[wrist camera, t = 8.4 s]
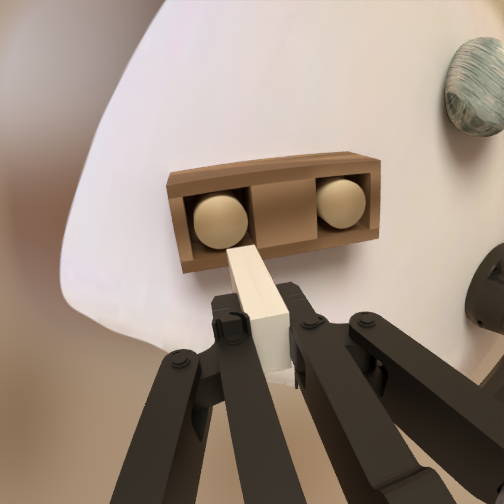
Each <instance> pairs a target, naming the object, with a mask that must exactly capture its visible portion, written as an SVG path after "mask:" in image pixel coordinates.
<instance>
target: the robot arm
mask: <svg viewBox="0 0 504 504" xmlns="http://www.w3.org/2000/svg"><path fill="white" fill-rule="evenodd" d="M226 251H227V257H228V264H229V271H230V278H231V284H232V291H233V293H231V294H226V295H220V296H215V297H214V299H213V301H212V302H211V306H212V313H213V320H212V327H213V332H214V337H215V342H214V344H213V345H212V346H211V347H210V348H209V349H208V350H206V351H204V352H202V353H199V354H196V353H195V352H193V351H192V350H187V349H180V350H176V351H173V352H170V353H169V354H168V355H166V356H165V357H164V359H163V360H162V363H161V365H160V368H159V370H158V373H157V375H156V378H155V380H154V383H153V385H152V388H151V390H150V393H149V396H148V398H147V401H146V403H145V406H144V409H143V411H142V414H141V417H140V419H139V422H138V425H137V428H136V430H135V433H134V435H133V438H132V441H131V444H130V446H129V449H128V452H127V455H126V458H125V460H124V463H123V466H122V469H121V472H120V475H119V477H118V480H117V483H116V486H115V489H114V492H113V495H112V498H111V501H110V504H195V501H196V496H197V490H198V485H199V480H200V474H201V469H202V464H203V458H204V452H205V448H206V442H207V436H208V431H209V426H210V421H211V416H212V410H213V406H214V405H216V404H218V403H220V402H222V401H225V404H226V410H227V416H228V421H229V427H230V432H231V438H232V443H233V448H234V454H235V459H236V464H237V469H238V474H239V478H240V483H241V488H242V493H243V498H244V503H245V504H307V503H306V500H305V497H304V494H303V491H302V488H301V485H300V482H299V479H298V476H297V473H296V471H295V467H294V465H293V462H292V459H291V456H290V453H289V450H288V447H287V444H286V441H285V438H284V435H283V432H282V429H281V425H280V423H279V419H278V416H277V413H276V410H275V407H274V404H273V401H272V398H271V394H270V391H269V388H268V385H267V382H266V379H265V375H264V374H265V373H269V372H274V371H279V370H283V369H288V368H292V367H291V359H292V362H293V364H294V367H295V389H298V385H299V387H300V390H301V392H302V394H303V397H304V399H305V402H306V404H307V406H308V409H309V411H310V414H311V416H312V419H313V421H314V423H315V426H316V428H317V431H318V433H319V435H320V438H321V440H322V443H323V445H324V447H325V450H326V452H327V455H328V457H329V459H330V461H331V464H332V466H333V469H334V471H335V473H336V476H337V478H338V480H339V483H340V485H341V488H342V490H343V493H344V495H345V497H346V500H347V502H348V504H457V503H456V502H455V500H454V499H453V497H452V495H451V494H450V492H449V490H448V489H447V487H446V485H445V484H444V482H443V481H442V479H441V478H440V476H439V475H438V473H437V472H436V471H435V470H434V469H432V468H431V467H422V466H421V465H420V464H419V463H418V462H417V460H416V459H415V457H414V455H413V454H412V452H411V450H410V449H409V447H408V445H407V444H406V442H405V441H404V439H403V437H402V436H401V434H400V432H399V431H398V429H397V428H396V426H395V425H394V423H395V424H396V425H397V426H398V427H399V428H400V429H401V430H402V431H403V432H404V433H405V434H406V435H407V436H408V437H409V438H411V439H412V440H413V441H414V442H415V443H416V444H417V445H418V446H419V447H420V448H421V449H422V450H423V451H424V452H425V453H427V454H428V455H429V456H430V457H431V458H432V459H433V460H434V461H435V462H436V463H437V464H438V465H440V466H441V467H442V468H443V469H444V470H445V471H446V472H447V473H448V474H450V476H452V477H453V478H454V479H455V480H456V481H457V482H458V483H459V484H460V485H461V486H463V487H464V488H465V489H466V490H467V491H468V492H470V493H471V494H472V495H473V496H475V497H476V498H478V499H480V500H481V501H483V502H485V503H487V504H504V355H503V356H502V357H501V359H500V360H499V361H498V363H497V364H496V365H495V366H494V368H493V369H492V370H491V372H490V373H489V374H488V375H487V376H486V378H485V379H484V380H483V381H482V382H481V383H480V385H479V386H478V385H476V384H475V383H474V382H472V381H471V380H470V379H468V378H467V377H466V376H464V375H463V374H461V373H460V372H459V371H457V370H456V369H454V368H453V367H452V366H450V365H449V364H448V363H446V362H445V361H443V360H442V359H441V358H439V357H438V356H436V355H435V354H434V353H432V352H431V351H429V350H428V349H427V348H425V347H424V346H422V345H421V344H419V343H418V342H417V341H415V340H414V339H412V338H411V337H410V336H408V335H407V334H405V333H404V332H402V331H401V330H400V329H398V328H397V327H395V326H394V325H393V324H391V323H390V322H388V321H387V320H385V319H384V318H383V317H381V316H380V315H378V314H376V313H373V312H359V313H356V314H354V315H353V316H351V318H350V320H349V323H344V324H335V323H329V321H328V320H327V319H326V318H325V317H324V316H322V315H320V314H316V313H315V311H314V309H313V308H312V306H311V305H310V303H309V301H308V300H307V298H306V297H305V295H304V294H303V292H302V291H301V289H300V287H299V286H297V285H296V284H294V283H292V282H288V283H282V284H277V285H275V284H274V282H273V280H272V278H271V276H270V274H269V272H268V270H267V268H266V266H265V264H264V262H263V260H262V259H261V257H260V255H259V253H258V251H257V249H256V247H255V245H249V246H243V247H237V248H231V249H226ZM466 314H467V317H468V318H469V319H470V320H471V321H472V322H473V323H475V324H476V325H477V326H479V327H482V328H484V329H487V330H490V331H493V332H496V333H499V334H502V335H504V243H502V244H500V245H498V246H497V247H495V248H494V249H493V250H492V251H491V252H490V253H489V254H488V255H487V256H486V258H485V259H484V260H483V262H482V263H481V265H480V266H479V268H478V270H477V272H476V273H475V275H474V278H473V280H472V282H471V285H470V287H469V290H468V294H467V298H466ZM380 362H381V363H380ZM393 422H394V423H393Z"/></svg>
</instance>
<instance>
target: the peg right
mask: <svg viewBox="0 0 504 504" xmlns="http://www.w3.org/2000/svg"><path fill="white" fill-rule="evenodd" d="M315 184H316V208H317V215H318V216H320V217H321V218H322V219H323V220H325V221H326V222H327V223H329V224H330V225H331V226H333V227H335V228H340V229H343V228H348V227H351V226H352V225H354V224H355V223H356V222H358V220H359V219H360V218H361V216H362V215H363V213H364V210H365V204H366V200H365V195H364V192H363V190H362V189H361V188H360V187H359V186H358V185H357V184H356V183H353V182H351V181H349V180H346V179H344V178H342V177H339V176H330V177H320V178H315Z"/></svg>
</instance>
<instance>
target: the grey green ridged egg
mask: <svg viewBox="0 0 504 504" xmlns="http://www.w3.org/2000/svg"><path fill="white" fill-rule="evenodd" d="M445 101H446V108H447V113H448V116H449V118H450V120H451V121H452V123H453V124H454V125H455V126H456V128H458V129H459V130H460V131H461V132H463V133H465V134H467V135H469V136H474V137H488V136H492V135H495V134H497V133H499V132H501V131H502V130H503V129H504V42H502V41H500V40H498V39H495V38H490V37H481V38H476V39H472V40H470V41H468V42H466V43H465V44H463V45H462V46H461V47H460V48H459V49H458V50H457V52H456V53H455V54H454V56H453V58H452V61H451V63H450V67H449V71H448V75H447V79H446V87H445Z"/></svg>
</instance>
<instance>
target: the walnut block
mask: <svg viewBox="0 0 504 504" xmlns="http://www.w3.org/2000/svg"><path fill="white" fill-rule="evenodd" d="M330 176H339V177H342V178H344V179H346V180H349V181H351V182H353V183H356V184H357V185H358V186H359V187H360V188H361V189H362V190H363V192H364V195H365V200H366V204H365V210H364V213H363V215H362V216H361V218H360V219H359V220H358V222H356V223H355V224H354V225H352V226H351V227H348V228H343V229H340V228H335V227H333V226H331V225H330V224H329V223H327V222H326V221H325V220H323V219H322V218H321V217H320V216H318V215H317V208H316V184H315V178H320V177H330ZM166 188H167V194H168V199H169V205H170V210H171V216H172V221H173V226H174V231H175V237H176V242H177V247H178V251H179V256H180V261H181V266H182V270H183V274H184V273H190V272H196V271H202V270H207V269H213V268H219V267H225V266H229V264H228V257H227V251H226V249H231V248H237V247H243V246H249V245H255V247H256V249H257V251H258V253H259V255H260V257H261V259H262V260H264V259H270V258H275V257H281V256H286V255H292V254H297V253H303V252H308V251H314V250H319V249H325V248H330V247H336V246H341V245H347V244H352V243H357V242H363V241H368V240H374V239H379V223H380V189H381V160H378V159H374V158H371V157H367V156H363V155H359V154H355V153H351V152H333V153H319V154H307V155H296V156H286V157H277V158H268V159H259V160H251V161H243V162H236V163H228V164H221V165H215V166H208V167H201V168H195V169H189V170H183V171H177V172H172V173H170V175H169V178H168V181H167V185H166ZM227 189H230V190H231V191H232V192H233V193H234V195H235V196H236V198H237V199H238V201H239V202H240V204H241V205H242V207H243V208H244V210H245V212H246V214H247V219H248V226H247V230H246V233H245V235H244V236H243V238H242V239H241V240H240V241H239V242H238V243H237V244H235V245H233V246H231V247H229V248H225V249H216V248H211V247H209V246H207V245H205V244H204V243H202V242H201V241H200V239H199V238H198V236H197V235H196V232H195V228H194V218H193V201H194V198H195V196H196V195H197V194H202V193H208V192H214V191H221V190H227Z"/></svg>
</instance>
